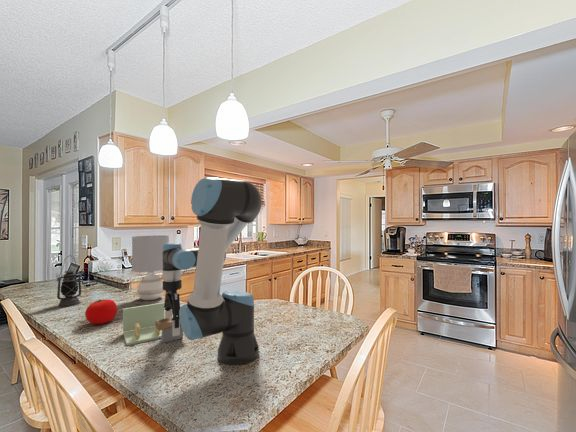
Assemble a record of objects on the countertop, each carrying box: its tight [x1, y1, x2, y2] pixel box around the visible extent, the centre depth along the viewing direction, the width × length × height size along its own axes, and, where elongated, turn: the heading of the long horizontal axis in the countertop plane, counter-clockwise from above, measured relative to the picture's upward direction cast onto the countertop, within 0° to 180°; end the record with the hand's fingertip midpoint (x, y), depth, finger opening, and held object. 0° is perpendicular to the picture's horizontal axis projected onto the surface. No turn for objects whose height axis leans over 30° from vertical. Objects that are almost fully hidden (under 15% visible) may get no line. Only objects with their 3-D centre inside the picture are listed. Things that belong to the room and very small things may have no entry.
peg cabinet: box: [122, 302, 165, 346], centre depth 129 cm, size 16×17×11 cm
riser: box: [161, 326, 184, 344], centre depth 123 cm, size 2×8×6 cm, turn 124°
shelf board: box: [156, 316, 181, 331], centre depth 123 cm, size 6×12×2 cm, turn 124°
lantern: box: [56, 254, 82, 308], centre depth 178 cm, size 12×11×30 cm
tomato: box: [84, 299, 118, 325], centre depth 144 cm, size 12×14×12 cm
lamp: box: [131, 234, 170, 301], centre depth 189 cm, size 22×22×40 cm
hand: (172, 330), depth 123 cm, fingers open, 13 cm apart
